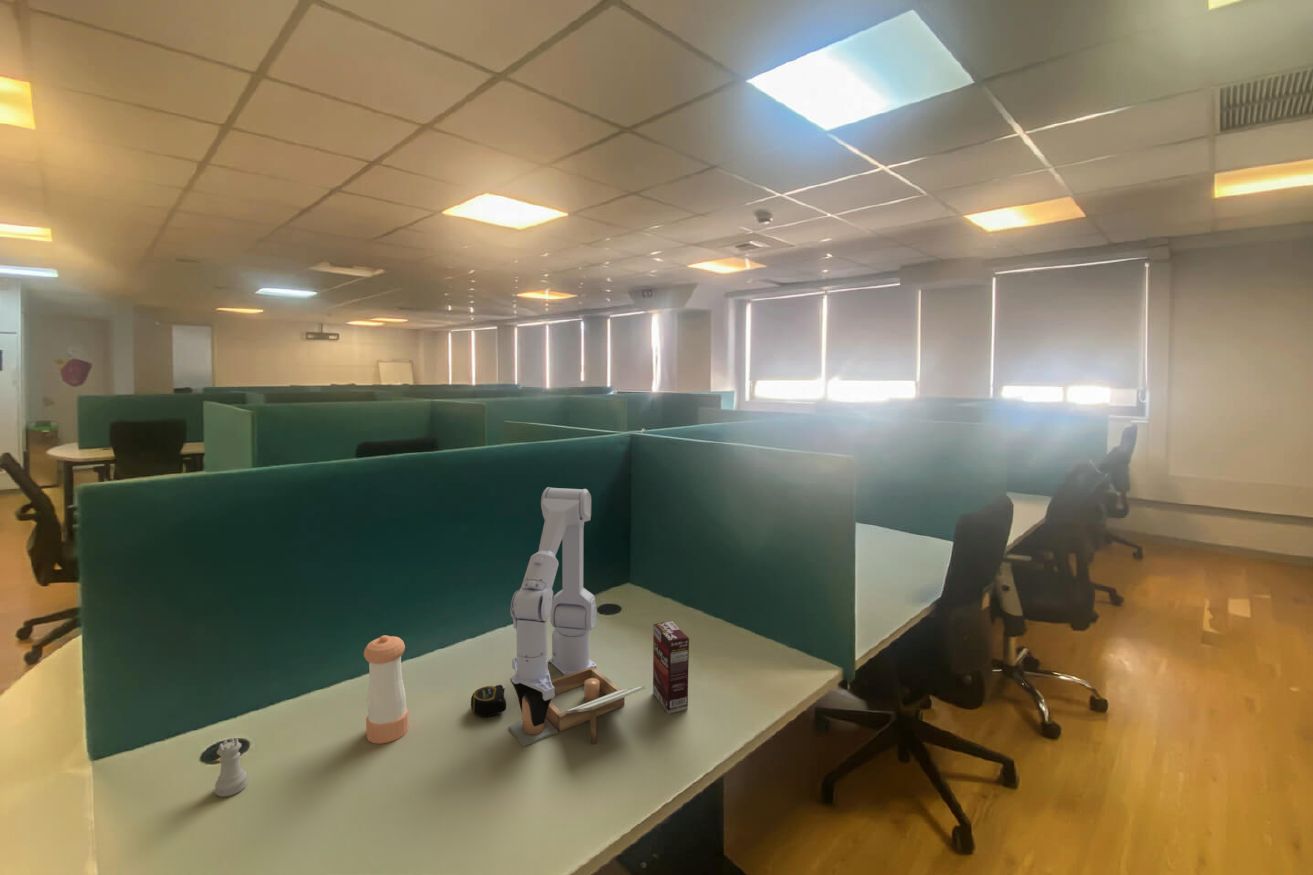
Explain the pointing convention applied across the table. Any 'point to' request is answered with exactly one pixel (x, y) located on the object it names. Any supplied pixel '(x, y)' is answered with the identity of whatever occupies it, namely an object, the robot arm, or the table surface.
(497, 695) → the tape measure
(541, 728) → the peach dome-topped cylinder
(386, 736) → the pepper shaker
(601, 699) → the frame
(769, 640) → the table surface
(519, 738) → the mat
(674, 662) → the supplement box
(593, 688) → the tan rounded cylinder
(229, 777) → the rook chess piece
